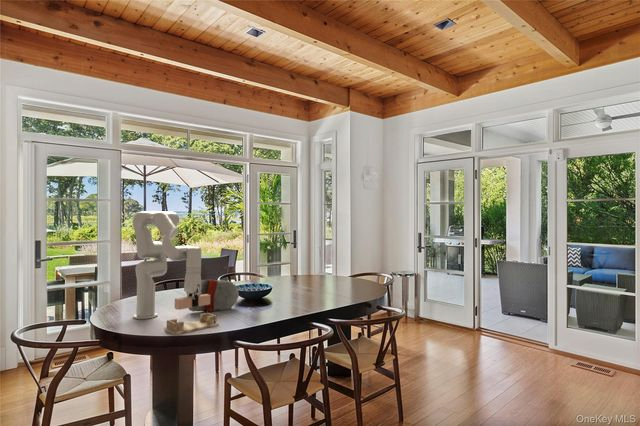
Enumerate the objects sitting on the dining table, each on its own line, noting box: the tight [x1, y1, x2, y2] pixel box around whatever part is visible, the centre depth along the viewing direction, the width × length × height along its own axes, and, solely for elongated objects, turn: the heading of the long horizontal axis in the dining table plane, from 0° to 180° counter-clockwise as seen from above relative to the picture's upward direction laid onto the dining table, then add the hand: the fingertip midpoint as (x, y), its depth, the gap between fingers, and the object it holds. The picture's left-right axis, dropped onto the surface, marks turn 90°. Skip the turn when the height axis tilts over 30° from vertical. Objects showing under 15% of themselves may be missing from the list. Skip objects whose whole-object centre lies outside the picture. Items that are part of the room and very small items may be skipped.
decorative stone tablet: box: [188, 278, 240, 313], centre depth 241 cm, size 19×6×30 cm
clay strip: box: [174, 294, 210, 310], centre depth 204 cm, size 18×4×5 cm, turn 137°
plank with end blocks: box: [164, 312, 220, 336], centre depth 204 cm, size 24×12×5 cm, turn 137°
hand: (192, 305), depth 204 cm, fingers closed on clay strip, 4 cm apart
